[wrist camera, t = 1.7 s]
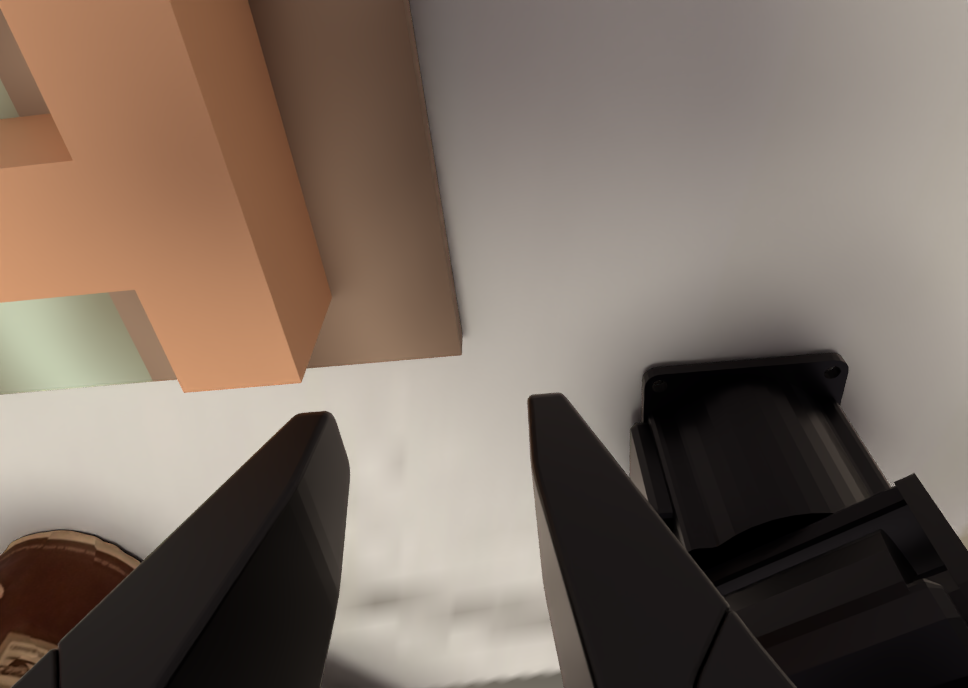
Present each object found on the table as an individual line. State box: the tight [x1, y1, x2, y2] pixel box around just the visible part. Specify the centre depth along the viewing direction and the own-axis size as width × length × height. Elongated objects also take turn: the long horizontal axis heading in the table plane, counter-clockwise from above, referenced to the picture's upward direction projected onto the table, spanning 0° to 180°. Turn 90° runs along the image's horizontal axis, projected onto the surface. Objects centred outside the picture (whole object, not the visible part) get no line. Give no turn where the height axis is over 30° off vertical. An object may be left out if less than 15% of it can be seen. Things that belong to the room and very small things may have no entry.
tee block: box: [0, 0, 332, 393], centre depth 16 cm, size 9×9×4 cm
